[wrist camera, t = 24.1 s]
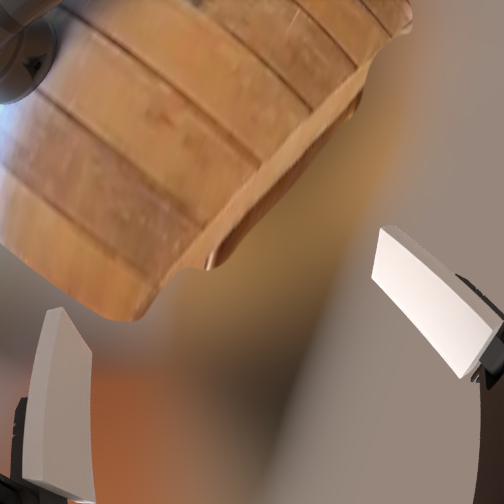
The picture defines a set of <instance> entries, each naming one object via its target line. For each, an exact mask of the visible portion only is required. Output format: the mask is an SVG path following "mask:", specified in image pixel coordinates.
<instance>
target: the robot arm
mask: <svg viewBox="0 0 504 504" xmlns="http://www.w3.org/2000/svg"><path fill="white" fill-rule="evenodd" d="M63 1H64V0H0V104H3V105H5V104H12V103H15V102H17V101H19V100H21V99H23V98H25V97H26V96H27V95H29V94H30V93H31V92H32V91H33V90H34V89H35V88H36V87H37V86H38V85H39V84H40V82H41V81H42V80H43V78H44V77H45V75H46V74H47V72H48V70H49V68H50V66H51V64H52V61H53V59H54V55H55V51H56V34H55V31H54V28H53V27H52V25H51V24H50V23H49V22H48V21H47V20H46V19H44V18H43V17H41V16H43V15H44V14H45V13H47V12H48V11H50V10H51V9H52V8H54V7H55V6H57V5H58V4H60V3H61V2H63ZM371 278H372V279H373V280H374V281H375V282H376V283H377V284H378V285H379V286H380V287H381V288H382V289H383V290H384V292H385V293H386V294H387V295H388V296H389V297H390V298H391V299H392V300H393V301H394V302H395V304H396V305H397V306H398V307H399V308H400V309H401V310H402V311H403V312H404V313H405V315H406V316H407V317H408V318H409V319H410V320H411V321H412V322H413V324H414V325H415V326H416V327H417V328H418V329H419V330H420V332H421V333H422V334H423V335H424V336H425V337H426V338H427V340H428V341H429V342H430V343H431V344H432V346H433V347H434V348H435V349H436V350H437V351H438V353H439V354H440V355H441V356H442V357H443V359H444V360H445V361H446V362H447V364H448V365H449V366H450V367H451V368H452V369H453V371H454V372H455V373H456V374H457V376H458V377H459V378H460V379H461V378H462V377H463V376H465V375H466V374H467V373H468V372H470V371H471V370H472V369H473V367H474V366H475V365H476V363H477V362H478V360H479V361H480V362H481V364H480V366H479V367H478V368H477V370H476V371H475V372H474V374H473V375H472V377H471V382H473V381H474V380H475V379H476V377H477V376H478V375H479V377H478V378H477V380H476V382H477V383H480V401H481V429H480V431H481V432H480V451H479V463H478V473H477V481H476V488H475V495H474V500H473V504H504V314H503V313H502V312H501V311H500V310H499V309H498V308H497V307H496V306H495V305H494V304H493V303H492V302H490V300H489V299H488V298H487V297H485V296H483V295H482V293H481V292H480V291H479V290H478V289H476V288H475V286H474V285H472V284H471V283H470V282H469V281H468V280H467V279H465V278H463V277H461V276H459V275H457V274H453V273H452V272H451V271H450V270H449V269H448V268H447V267H445V266H444V265H443V264H442V263H441V262H440V261H438V260H437V259H436V258H435V257H434V256H432V255H431V254H430V253H429V252H427V251H426V250H425V249H424V248H423V247H421V246H420V245H419V244H418V243H416V242H415V241H414V240H413V239H411V238H410V237H409V236H408V235H406V234H405V233H404V232H402V231H401V230H399V228H397V227H396V226H395V225H389V226H385V227H381V228H380V233H379V239H378V246H377V251H376V256H375V262H374V267H373V272H372V277H371ZM91 364H92V352H91V350H90V349H89V348H88V346H87V345H86V343H85V342H84V340H83V339H82V337H81V336H80V334H79V333H78V331H77V329H76V328H75V326H74V325H73V323H72V321H71V320H70V318H69V316H68V315H67V313H66V311H65V310H64V308H63V307H59V308H55V309H51V310H47V312H46V316H45V320H44V323H43V327H42V331H41V335H40V339H39V343H38V348H37V352H36V356H35V361H34V366H33V371H32V377H31V382H30V388H29V395H28V397H26V398H21V400H20V402H19V404H18V406H17V408H16V410H15V419H14V425H15V426H14V427H13V438H12V450H11V473H10V479H9V478H7V477H6V476H4V475H2V474H0V504H68V502H67V499H69V500H71V501H74V502H76V503H96V498H95V491H94V481H93V471H92V458H91V439H90V384H91V382H90V381H91Z"/></svg>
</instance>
